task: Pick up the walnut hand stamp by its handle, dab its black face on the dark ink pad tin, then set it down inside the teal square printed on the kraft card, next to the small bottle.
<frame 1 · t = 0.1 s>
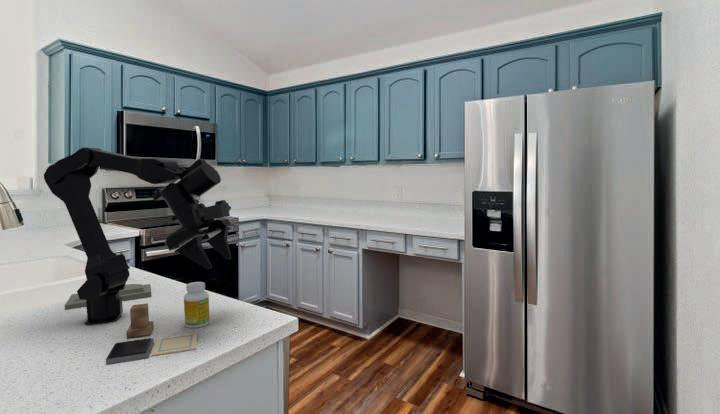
hand: (220, 263, 87), 15 cm above the counter, tool tilted 30°, fingers open, 9 cm apart
card: (176, 344, 79), on the counter
supplement bottle: (197, 324, 89), on the counter
soap mold: (111, 300, 108), on the counter
ink pad: (131, 353, 75), on the counter
stamp: (140, 333, 84), on the counter
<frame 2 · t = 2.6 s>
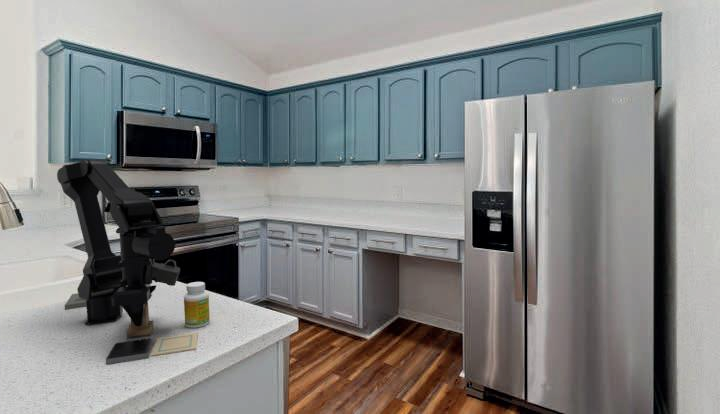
hand: (140, 323, 84), 2 cm above the counter, tool pointing down, fingers closed on stamp, 3 cm apart
stamp: (140, 333, 84), on the counter, touching gripper
everything else where it was.
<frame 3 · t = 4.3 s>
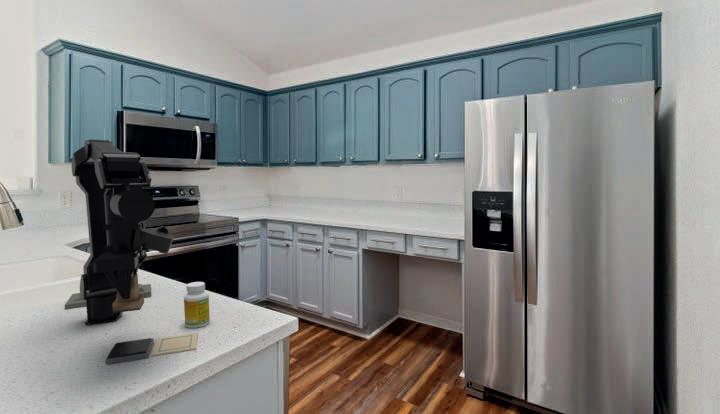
hand: (128, 296, 74), 12 cm above the counter, tool pointing down, fingers closed on stamp, 3 cm apart
stamp: (129, 307, 74), point 9 cm above the counter, touching gripper
everything else where it was.
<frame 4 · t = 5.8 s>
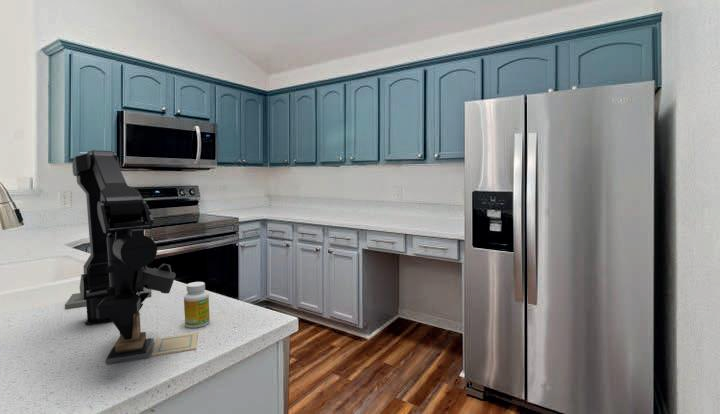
hand: (130, 335, 75), 4 cm above the counter, tool pointing down, fingers closed on stamp, 3 cm apart
stamp: (131, 346, 75), point 1 cm above the counter, touching gripper, ink pad
everything else where it was.
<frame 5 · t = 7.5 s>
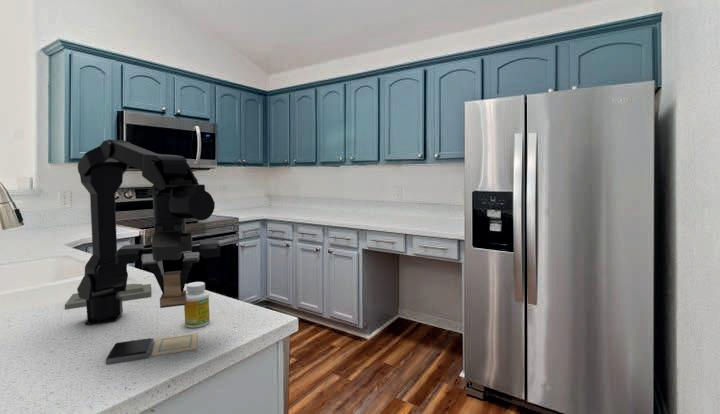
hand: (173, 292, 78), 11 cm above the counter, tool pointing down, fingers closed on stamp, 3 cm apart
stamp: (173, 303, 78), point 9 cm above the counter, touching gripper
everything else where it was.
when the fingers open (3 cm above the counter, at t = 9.1 s): stamp stays where it is, resting on card.
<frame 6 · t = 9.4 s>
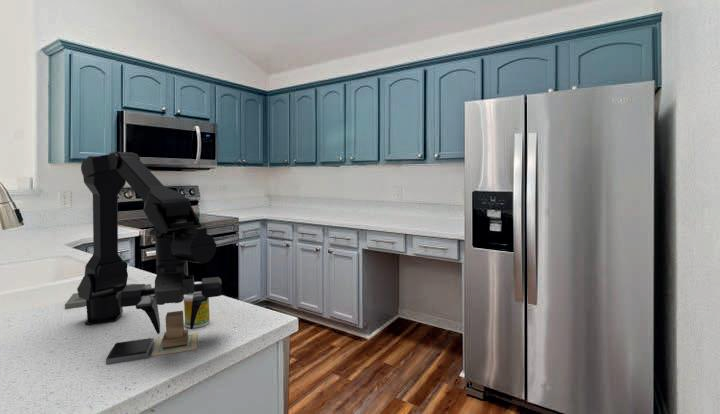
hand: (175, 331, 78), 3 cm above the counter, tool pointing down, fingers open, 6 cm apart
stamp: (175, 343, 79), resting on card
everything else where it was.
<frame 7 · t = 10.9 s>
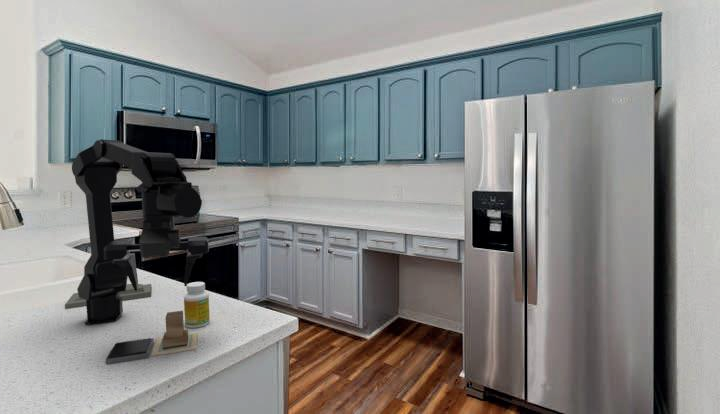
hand: (161, 288, 79), 12 cm above the counter, tool pointing down, fingers open, 9 cm apart
nothing on the counter moved.
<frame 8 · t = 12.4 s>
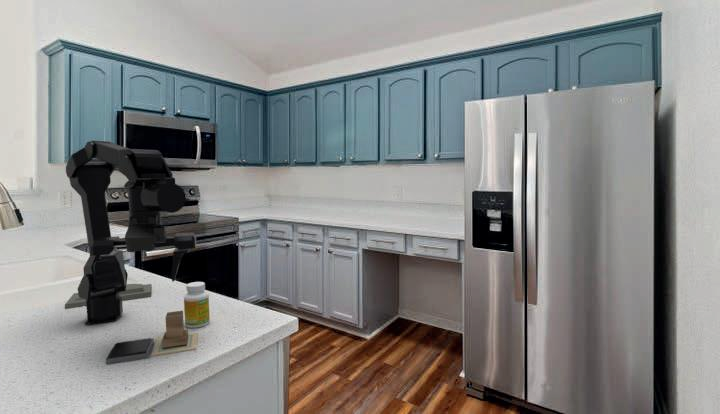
hand: (149, 283, 80), 13 cm above the counter, tool pointing down, fingers open, 9 cm apart
nothing on the counter moved.
at the end: stamp 0.1 cm off-centre on the card, point 0.3 cm above the card's base; stamp tilted 0°; the gripper is holding nothing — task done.
